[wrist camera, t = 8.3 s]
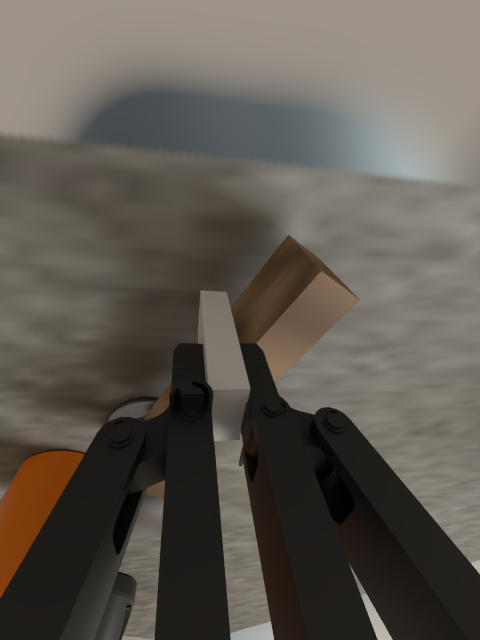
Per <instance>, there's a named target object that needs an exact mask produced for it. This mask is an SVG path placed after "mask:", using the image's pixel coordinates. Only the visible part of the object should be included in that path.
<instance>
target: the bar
mask: <svg viewBox="0 0 480 640" xmlns="http://www.w3.org/2000/svg"><path fill="white" fill-rule="evenodd" d="M358 301H359V299H358V298H357V296H356V295H355V294H354V293H353V292H352V291H351V290H350V289H349V288H348V287H347V286H346V285H345V284H344V283H343V282H342V281H341V280H340V279H339V278H338V277H337V276H336V275H335V274H334V273H333V272H332V271H331V270H330V269H329V268H328V267H327V266H326V265H325V264H324V263H323V262H322V261H321V260H320V259H319V258H318V257H316V256H315V255H314V254H313V253H311V252H310V251H309V250H307V249H306V248H305V247H303V246H302V245H301V244H300V243H298V242H297V241H296V240H294V239H293V238H292V237H291V236H289V235H288V236H287V237H286V239H285V240H284V241H283V243H282V244H281V245H280V246H279V248H278V249H277V250H276V251H275V253H274V254H273V255H272V256H271V258H270V259H269V260H268V261H267V263H266V264H265V265H264V267H263V268H262V269H261V270H260V272H259V273H258V274H257V275H256V277H255V278H254V279H253V280H252V282H251V283H250V284H249V285H248V287H247V288H246V289H245V290H244V292H243V293H242V294H241V296H240V297H239V298H238V299H237V301H236V302H235V303H234V304H233V306H232V307H231V312H232V316H233V320H234V324H235V328H236V332H237V336H238V340H239V343H256V344H257V345H258V346H259V347H260V348H261V349H262V350H263V351H264V354H265V357H266V361H267V363H268V366H269V368H270V371H271V374H272V377H273V380H274V383H275V382H276V381H277V380H278V379H280V378H281V377H282V376H283V375H284V374H285V373H286V372H287V371H288V370H289V369H290V368H291V367H292V366H293V365H294V364H295V363H296V362H297V361H298V360H299V359H300V358H301V357H302V356H303V355H304V354H305V353H306V352H307V351H308V350H309V349H310V348H311V347H312V346H313V345H314V344H315V343H316V342H317V341H318V340H319V339H320V338H321V337H322V336H323V335H324V334H325V333H326V332H327V331H328V330H329V329H330V328H331V327H332V326H333V325H334V324H335V323H336V322H337V321H338V320H339V319H341V318H342V317H343V316H344V315H345V314H346V313H347V312H348V311H349V310H350V309H351V308H352V307H353V306H354V305H355V304H356V303H357V302H358ZM171 388H172V383H171V384H170V385H169V386H168V388H167V389H166V390H165V391H164V393H163V394H162V395H161V396H160V398H159V399H158V400H157V402H156V403H155V404H154V405H153V407H152V408H151V409H150V410H149V412H148V413H147V414H146V415H145V420H148V419H152V418H154V417H156V416H158V415H160V414H161V413H163V412H164V411H165V410H166V409H167V407H168V406H169V394H170V391H171ZM214 442H215V441H214ZM164 489H165V480H164V481H162V482H160V483H157V484H155V485H153V486H150V487H148V488H147V491H146V494H145V496H144V499H143V502H142V505H141V508H140V511H139V514H138V516H137V519H136V522H135V525H134V528H133V531H132V534H131V536H130V539H129V540H131V539H140V538H145V537H149V536H152V535H155V534H158V533H160V532H162V519H163V504H164Z"/></svg>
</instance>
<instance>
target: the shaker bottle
mask: <svg viewBox="0 0 480 640" xmlns="http://www.w3.org/2000/svg"><path fill="white" fill-rule="evenodd" d="M84 455H85V454H83V453H79V452H73V451H49V452H43V453H40V454H37V455H34V456H32V457H30V458H28V459H27V460H25V461H24V462H23V463H22V465H21V466H20V467H19V469H18V471H17V473H16V475H15V476H14V478H13V480H12V482H11V483H10V485H9V487H8V489H7V490H6V492H5V494H4V496H3V498H2V499H1V501H0V598H1V596H2V594H3V593H4V591H5V589H6V588H7V586H8V584H9V582H10V581H11V579H12V577H13V576H14V574H15V572H16V570H17V569H18V567H19V565H20V564H21V562H22V560H23V559H24V557H25V555H26V553H27V552H28V550H29V548H30V547H31V545H32V543H33V542H34V540H35V538H36V536H37V535H38V533H39V531H40V530H41V528H42V526H43V525H44V523H45V521H46V519H47V518H48V516H49V514H50V513H51V511H52V509H53V507H54V506H55V504H56V502H57V501H58V499H59V497H60V496H61V494H62V492H63V490H64V489H65V487H66V485H67V484H68V482H69V480H70V479H71V477H72V475H73V473H74V472H75V470H76V468H77V467H78V465H79V463H80V461H81V460H82V458H83V456H84Z"/></svg>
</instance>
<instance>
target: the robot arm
mask: <svg viewBox="0 0 480 640" xmlns="http://www.w3.org/2000/svg"><path fill="white" fill-rule="evenodd" d="M240 434H242V439H243V447H242V451H241V456H240V460H239V466H242V465H243V463H244V469H245V475H246V480H247V486H248V492H249V498H250V503H251V509H252V515H253V521H254V526H255V532H256V538H257V543H258V549H259V555H260V561H261V566H262V572H263V578H264V584H265V589H266V595H267V601H268V607H269V612H270V618H271V624H272V629H273V635H274V640H377V637H376V634H375V632H374V629H373V627H372V624H371V621H370V618H369V616H368V613H367V611H366V608H365V605H364V602H363V600H362V597H361V594H360V592H359V589H358V586H357V584H356V581H355V579H354V576H353V573H352V571H351V568H350V565H351V567H352V569H353V571H354V572H355V574H356V576H357V578H358V579H359V581H360V583H361V585H362V586H363V588H364V590H365V592H366V593H367V595H368V597H369V599H370V600H371V602H372V604H373V606H374V607H375V609H376V611H377V613H378V614H379V616H380V618H381V620H382V621H383V623H384V625H385V626H386V628H387V630H388V632H389V634H390V635H391V637H392V639H393V640H480V574H479V573H478V572H477V570H476V569H475V568H474V567H473V566H472V564H471V563H470V562H469V561H468V560H467V558H466V557H465V556H464V555H463V554H462V552H461V551H460V550H459V549H458V548H457V546H456V545H455V544H454V543H453V542H452V541H451V539H450V538H449V537H448V536H447V535H446V533H445V532H444V531H443V530H442V529H441V527H440V526H439V525H438V524H437V523H436V521H435V520H434V519H433V518H432V517H431V515H430V514H429V513H428V512H427V511H426V509H425V508H424V507H423V506H422V505H421V503H420V502H419V501H418V500H417V499H416V498H415V496H414V495H413V494H412V493H411V492H410V490H409V489H408V488H407V487H406V486H405V484H404V483H403V482H402V481H401V480H400V478H399V477H398V476H397V475H396V474H395V472H394V471H393V470H392V469H391V468H390V466H389V465H388V464H387V463H386V462H385V461H384V459H383V458H382V457H381V456H380V455H379V453H378V452H377V451H376V450H375V449H374V447H373V446H372V445H371V444H370V443H369V441H368V440H367V439H366V438H365V437H364V435H363V434H362V433H361V432H360V431H359V429H358V428H357V427H356V426H355V425H354V424H353V422H352V421H351V420H350V419H349V418H348V417H347V416H346V415H345V414H344V413H342V412H341V411H339V410H337V409H334V408H329V407H326V408H321V409H319V410H317V412H316V414H315V415H313V414H309V413H305V412H301V411H298V410H295V409H293V408H291V407H290V406H289V405H288V403H287V402H286V401H285V400H284V399H283V398H282V397H280V396H279V394H278V392H277V389H276V386H275V383H274V380H273V377H272V374H271V371H270V368H269V366H268V363H267V361H266V357H265V354H264V351H263V350H262V349H261V348H260V347H259V346H258V345H257V344H256V343H239V340H238V336H237V332H236V328H235V324H234V320H233V316H232V312H231V308H230V304H229V300H228V296H227V292H221V291H200V306H199V321H198V344H187V343H179V344H178V346H177V347H176V349H175V350H174V354H173V372H172V388H171V391H170V394H169V406H168V407H167V409H166V410H165V411H164V412H163V413H161V414H160V415H158V416H156V417H154V418H152V419H148V420H145V421H142V422H140V421H139V420H138V419H135V418H132V417H119V418H116V419H113V420H111V421H109V422H108V423H106V424H105V425H103V427H102V428H101V429H100V430H99V431H98V433H97V434H96V436H95V438H94V439H93V441H92V443H91V444H90V446H89V448H88V450H87V451H86V453H85V455H84V456H83V458H82V460H81V461H80V463H79V465H78V467H77V468H76V470H75V472H74V473H73V475H72V477H71V479H70V480H69V482H68V484H67V485H66V487H65V489H64V490H63V492H62V494H61V496H60V497H59V499H58V501H57V502H56V504H55V506H54V507H53V509H52V511H51V513H50V514H49V516H48V518H47V519H46V521H45V523H44V525H43V526H42V528H41V530H40V531H39V533H38V535H37V536H36V538H35V540H34V542H33V543H32V545H31V547H30V548H29V550H28V552H27V553H26V555H25V557H24V559H23V560H22V562H21V564H20V565H19V567H18V569H17V570H16V572H15V574H14V576H13V577H12V579H11V581H10V582H9V584H8V586H7V588H6V589H5V591H4V593H3V594H2V596H1V598H0V640H121V639H122V637H123V634H124V631H125V628H126V625H127V623H128V620H129V617H130V614H131V610H132V608H133V605H134V601H135V593H136V585H137V584H136V581H135V580H134V579H132V578H131V577H129V576H126V575H122V574H118V571H119V568H120V565H121V562H122V559H123V556H124V554H125V551H126V548H127V545H128V542H129V539H130V536H131V534H132V531H133V528H134V525H135V522H136V519H137V516H138V514H139V511H140V508H141V505H142V502H143V499H144V496H145V494H146V491H147V488H148V487H150V486H153V485H155V484H157V483H160V482H162V481H164V480H165V489H164V504H163V519H162V535H161V550H160V566H159V581H158V596H157V612H156V627H155V640H230V627H229V615H228V603H227V591H226V579H225V567H224V555H223V543H222V531H221V519H220V506H219V494H218V482H217V470H216V458H215V446H214V441H228V440H239V439H240ZM348 562H349V563H350V565H349V563H348Z"/></svg>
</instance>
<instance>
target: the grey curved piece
mask: <svg viewBox="0 0 480 640" xmlns="http://www.w3.org/2000/svg"><path fill="white" fill-rule="evenodd" d="M157 400H158V398H150V397H144V398H136V399H131V400H128V401H125V402H123V403H121V404H120V405H118V406H117V407H116V408H114V409H113V411H112V412H111V414H110V416H109V419H108V422H109V421H111V420H113V419H116V418H119V417H132V418H135V419H138V420H139V421H140V422H142V421H145V415H146V414H147V413H148V412H149V410H150V409H151V408H152V407H153V405H154V404H155V403H156V402H157Z"/></svg>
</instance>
